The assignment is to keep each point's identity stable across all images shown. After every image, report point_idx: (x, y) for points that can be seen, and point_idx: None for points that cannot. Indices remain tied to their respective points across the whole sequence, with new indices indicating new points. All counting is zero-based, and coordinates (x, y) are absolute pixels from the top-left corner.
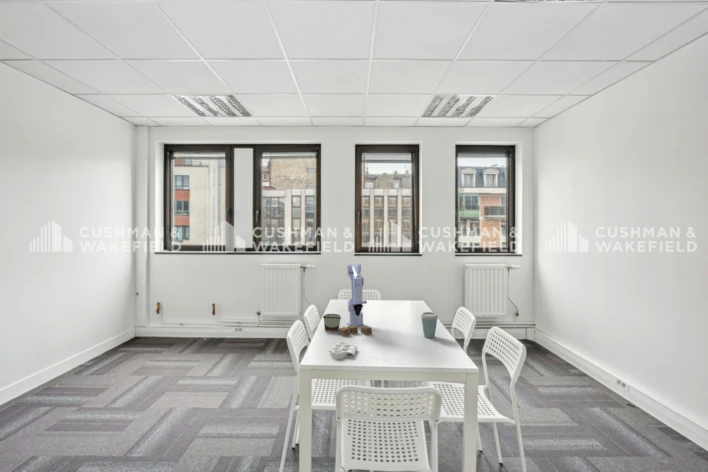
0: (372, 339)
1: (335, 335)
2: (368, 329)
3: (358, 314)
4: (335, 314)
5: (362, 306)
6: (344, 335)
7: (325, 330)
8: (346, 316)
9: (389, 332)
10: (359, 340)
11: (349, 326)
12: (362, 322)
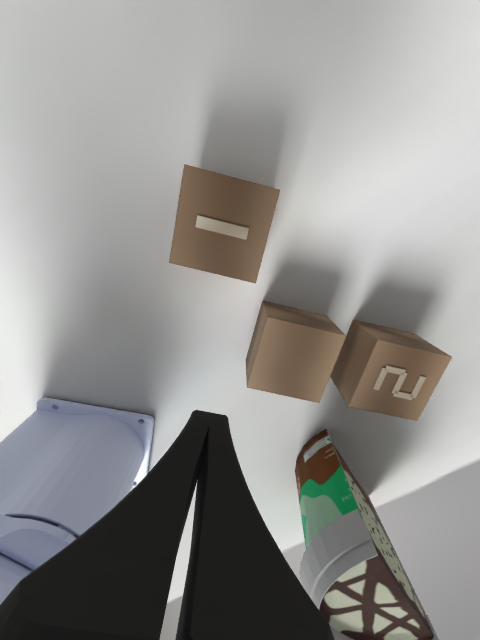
0: (352, 42)
1: None
2: (241, 181)
3: (220, 426)
4: None
5: (50, 586)
6: (407, 333)
7: (366, 493)
8: None
9: (4, 28)
10: (453, 146)
11: (309, 386)
12: (37, 415)
